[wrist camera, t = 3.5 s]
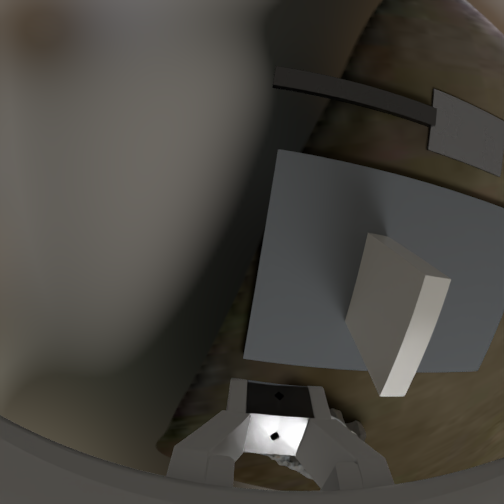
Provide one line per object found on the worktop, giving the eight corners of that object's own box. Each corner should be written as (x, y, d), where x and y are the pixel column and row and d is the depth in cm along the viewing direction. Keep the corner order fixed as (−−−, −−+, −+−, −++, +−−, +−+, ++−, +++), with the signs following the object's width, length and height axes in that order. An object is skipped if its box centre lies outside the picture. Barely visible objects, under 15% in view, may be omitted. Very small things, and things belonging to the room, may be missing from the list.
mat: (526, 217, 21) (530, 218, 21) (474, 367, 26) (477, 371, 25) (277, 149, 21) (278, 148, 20) (243, 354, 25) (243, 358, 25)
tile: (388, 236, 22) (452, 279, 13) (364, 323, 24) (404, 396, 15) (367, 232, 22) (425, 275, 13) (344, 321, 24) (379, 396, 15)
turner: (503, 122, 19) (510, 121, 18) (498, 176, 21) (505, 177, 20) (279, 48, 19) (279, 43, 18) (268, 112, 20) (268, 109, 20)
